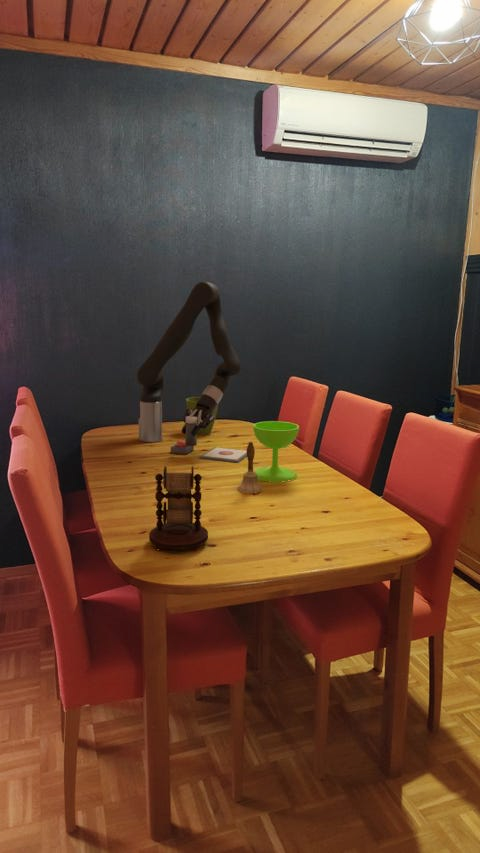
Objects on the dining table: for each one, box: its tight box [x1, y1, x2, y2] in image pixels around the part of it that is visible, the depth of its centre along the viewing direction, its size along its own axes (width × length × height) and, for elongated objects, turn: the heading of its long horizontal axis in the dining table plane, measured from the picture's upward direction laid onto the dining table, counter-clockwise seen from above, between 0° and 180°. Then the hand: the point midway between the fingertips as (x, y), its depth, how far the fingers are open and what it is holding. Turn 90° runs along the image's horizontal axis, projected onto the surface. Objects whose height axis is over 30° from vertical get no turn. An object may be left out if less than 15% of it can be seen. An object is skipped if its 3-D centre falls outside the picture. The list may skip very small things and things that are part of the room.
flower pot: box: [185, 396, 219, 436], centre depth 266 cm, size 15×15×16 cm
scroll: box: [148, 465, 209, 551], centre depth 145 cm, size 15×15×20 cm
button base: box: [170, 443, 195, 456], centre depth 234 cm, size 7×7×2 cm
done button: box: [176, 440, 188, 448], centre depth 234 cm, size 4×4×2 cm
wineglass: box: [252, 420, 300, 483], centre depth 203 cm, size 16×16×18 cm
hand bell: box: [236, 441, 263, 494], centre depth 187 cm, size 8×8×16 cm
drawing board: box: [199, 446, 247, 464], centre depth 230 cm, size 16×16×1 cm
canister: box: [185, 416, 198, 447], centre depth 225 cm, size 4×4×11 cm
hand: (187, 433), depth 224 cm, fingers closed on canister, 4 cm apart
